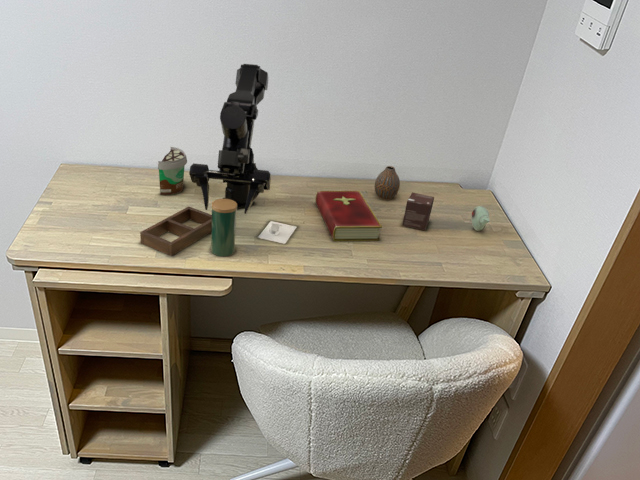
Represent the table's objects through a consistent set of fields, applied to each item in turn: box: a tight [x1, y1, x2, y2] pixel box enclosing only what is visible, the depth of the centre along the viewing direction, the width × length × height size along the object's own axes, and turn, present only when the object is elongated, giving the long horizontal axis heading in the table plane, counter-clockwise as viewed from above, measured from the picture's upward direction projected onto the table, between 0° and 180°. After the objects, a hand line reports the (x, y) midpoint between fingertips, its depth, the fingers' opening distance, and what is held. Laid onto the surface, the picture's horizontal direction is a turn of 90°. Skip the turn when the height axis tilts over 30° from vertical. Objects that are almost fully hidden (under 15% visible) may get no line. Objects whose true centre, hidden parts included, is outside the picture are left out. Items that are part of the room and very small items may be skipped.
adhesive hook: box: [268, 221, 282, 236], centre depth 152 cm, size 3×3×3 cm
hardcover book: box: [315, 190, 383, 242], centre depth 159 cm, size 12×21×4 cm, turn 6°
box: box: [402, 192, 435, 231], centre depth 159 cm, size 6×6×7 cm
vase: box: [373, 165, 401, 201], centre depth 172 cm, size 7×7×9 cm
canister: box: [210, 198, 238, 257], centre depth 141 cm, size 6×6×12 cm
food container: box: [157, 146, 188, 196], centre depth 169 cm, size 12×6×10 cm, turn 168°
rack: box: [139, 206, 212, 257], centre depth 149 cm, size 18×10×3 cm, turn 145°
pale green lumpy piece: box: [470, 205, 491, 232], centre depth 158 cm, size 8×4×7 cm, turn 175°
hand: (225, 211), depth 142 cm, fingers open, 9 cm apart
